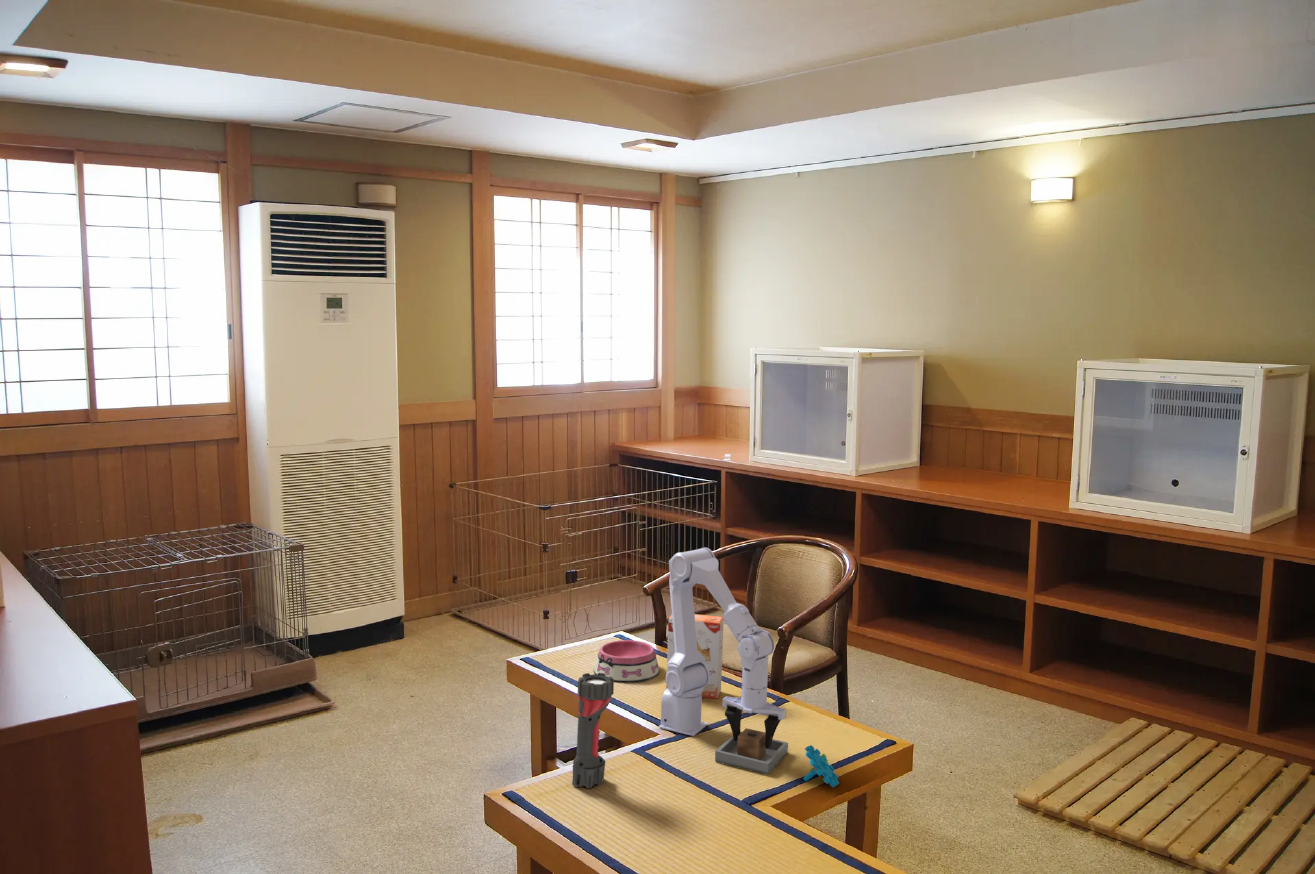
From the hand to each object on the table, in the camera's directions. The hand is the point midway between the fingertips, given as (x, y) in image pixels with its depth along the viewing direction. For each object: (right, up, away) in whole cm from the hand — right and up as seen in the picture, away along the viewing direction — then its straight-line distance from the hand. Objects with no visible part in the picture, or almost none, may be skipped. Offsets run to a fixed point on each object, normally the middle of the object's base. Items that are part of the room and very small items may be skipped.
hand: (752, 742), depth 219 cm
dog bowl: (-30, +3, +53) cm, 61 cm away
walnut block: (0, -3, 0) cm, 3 cm away
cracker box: (-12, +1, +38) cm, 40 cm away
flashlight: (-35, -4, -13) cm, 38 cm away
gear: (+14, -5, -10) cm, 18 cm away
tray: (0, -3, 0) cm, 3 cm away
